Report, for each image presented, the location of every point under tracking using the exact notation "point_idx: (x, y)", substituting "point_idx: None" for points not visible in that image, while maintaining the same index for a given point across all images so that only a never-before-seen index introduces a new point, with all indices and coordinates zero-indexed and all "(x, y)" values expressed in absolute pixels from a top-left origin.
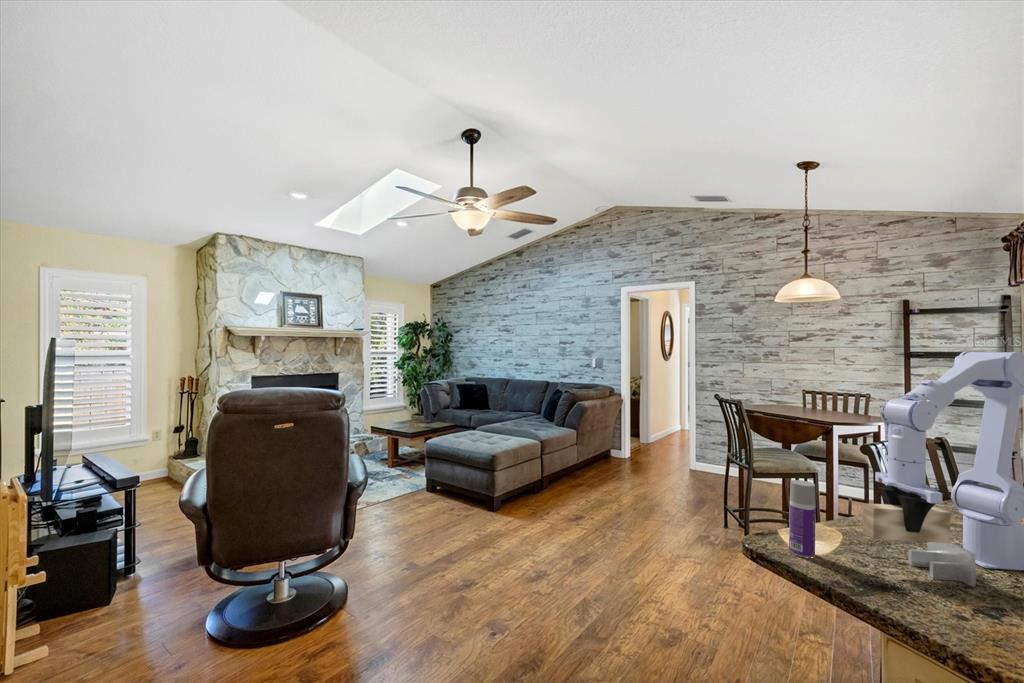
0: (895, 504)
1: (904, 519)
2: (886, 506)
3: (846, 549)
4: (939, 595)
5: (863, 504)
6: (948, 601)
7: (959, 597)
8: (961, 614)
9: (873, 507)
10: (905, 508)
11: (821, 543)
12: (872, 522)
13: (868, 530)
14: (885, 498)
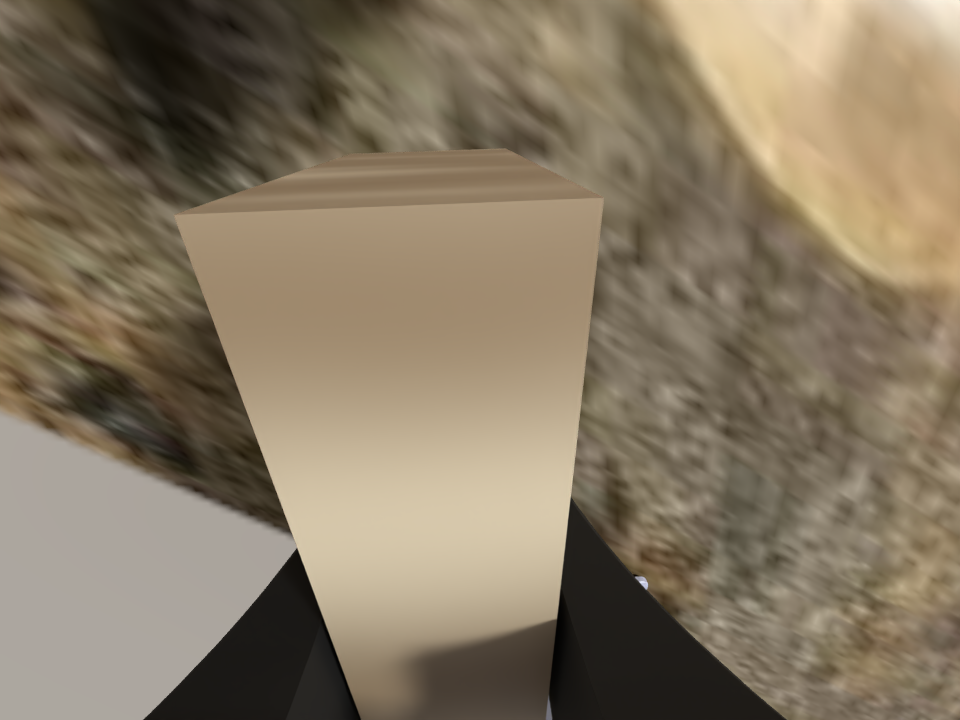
0: (565, 656)
1: None
2: (443, 535)
3: (690, 172)
4: (204, 320)
5: (582, 190)
6: (151, 321)
7: (224, 388)
8: (20, 295)
9: (263, 257)
10: (218, 691)
11: (797, 36)
12: (319, 168)
13: (418, 155)
14: (676, 672)
